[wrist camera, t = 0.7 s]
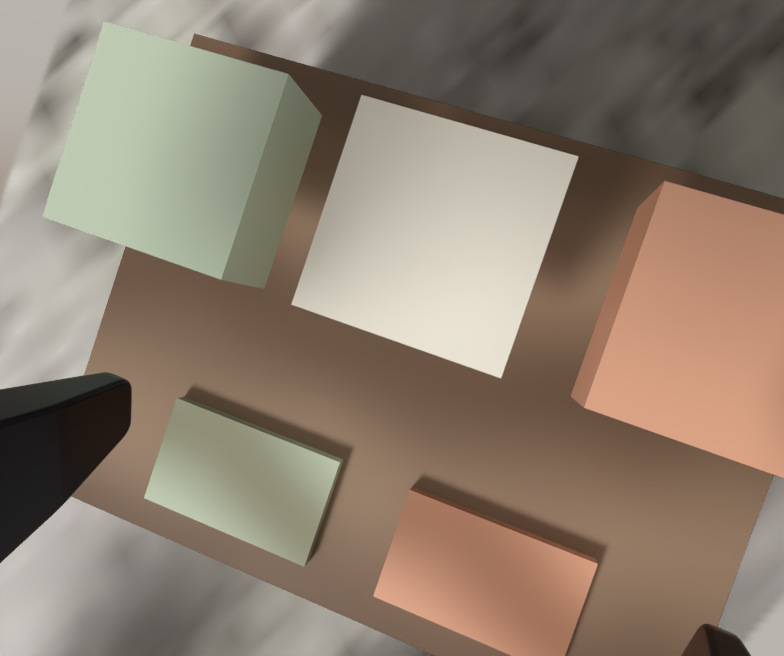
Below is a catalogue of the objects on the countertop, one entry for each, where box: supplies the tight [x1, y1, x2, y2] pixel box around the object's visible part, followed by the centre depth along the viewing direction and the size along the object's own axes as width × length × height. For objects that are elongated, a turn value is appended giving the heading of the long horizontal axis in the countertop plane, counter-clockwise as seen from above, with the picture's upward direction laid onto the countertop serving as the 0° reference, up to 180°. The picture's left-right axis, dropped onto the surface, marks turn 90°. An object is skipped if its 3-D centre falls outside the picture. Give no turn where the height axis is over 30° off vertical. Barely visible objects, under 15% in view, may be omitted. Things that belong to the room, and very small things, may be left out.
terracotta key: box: [571, 181, 784, 478], centre depth 12 cm, size 4×4×2 cm
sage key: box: [42, 22, 322, 289], centre depth 14 cm, size 4×4×2 cm
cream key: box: [291, 95, 579, 378], centre depth 13 cm, size 4×4×2 cm
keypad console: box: [72, 34, 784, 656], centre depth 20 cm, size 14×18×7 cm
